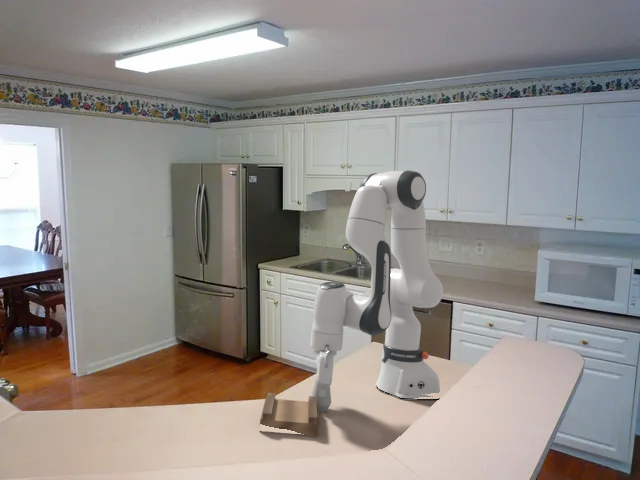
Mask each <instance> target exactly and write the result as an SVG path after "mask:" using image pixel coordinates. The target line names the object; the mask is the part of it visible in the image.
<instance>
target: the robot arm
mask: <svg viewBox="0 0 640 480" xmlns="http://www.w3.org/2000/svg"><path fill="white" fill-rule="evenodd" d="M426 192H427V183H426V181H425V178H424V177H423V175H422V174H421V173H419V172H418V171H414V170H405V171H404V170H390V171H389V170H388V171H384V172H379V173H377V172H376V173H375V172H374V173H370V174H367V175H366V176H365V177H364V178H362V180H361V182H360V185H359V188H358V189H357V190H356V193H355V195H354V197H353V199H352V202H351V205H350V209H349V212H348V216H347V220H346V221H347V222H346V226H345V238H346V241H347V243H348V244H349V245H350V247H351V248H352V249H353V250H355V251H356V252H357V253H359V254H360V255H362V256H363V257H365V259H367V261H368V262H369V265H370V268H371V276H370V278H371V279H370V280H371V281H370V295H369V297H368V296H364V295H359V294H356V293H353V292H352V291H350V290H349V289H348V288H347V287H346V285H345V284H344V283H343V282H340V281H326V282H323V283H320V284H319V285H318V288H317V290H316V293H315V297H314V303H313V311H312V312H313V313H312V314H313V315H312V316H313V323H312V325H311V333H310V340H309V341H310V342H309V346H310V347H311V348H312V349H313V353H314V354H315V362H316V365H317V364H318V367H317V370H316V377H317V381H318V384H319V396H320V397H325V396H326V389H327V386H330V387H331V385H332V382H333V374H334V357H335V356H337V355H338V351H341V350H342V349H343V343H344V342H343V340H344V339H343V338H344V331H345V330H344V327H346V328H349V329H353V330H356V331H360V332H362V333H365V334H367V335H370V336H372V337H376V336H378V335H380V334H382V333H383V332H385V335H384V337H385V339H384V343H383V346H382V349H381V366H380V370H379V371H380V372H379V374H378V377H377V381H376V383H375V386H376V385H377V387H378V388H379V389H381V390H383V391H385V392H388V393H391V394H394V395H396V396H398V397H400V398H419V397H431V396H428V395H425V394H431V393H439V392H440V387H441V385H440V384H441V383H440V378H439V376H438V374H437V373H436V371H435V370H434V369H433V368H432V367H431V366H430V365H429V364H428V363H427V362H426V361H425V360H428V359H429V356H430V355H429V354H428V352H427V351H424V350H423V349H421V348H420V339H421V331H422V325H421V321H419V319H418V318H417V316H416V315H415V312H414V309H413V307H415V308H420V309H423V308H424V309H430V308H431V309H433V308H434V307H436V306H437V305H439V304H440V302H441V301H442V299H443V298H442V297H443V294H444V287H443V283H442V282H441V281H440V279H438V277H437V276H436V274H435V273H434V271H433V270H432V268H431V265H430V262H429V259H428V255H427V242H426V241H427V233H426V231H427V230H426V227H427V225H426V224H427V223H426V221H427V220H426V211H425V210H426V209H425V203H424V199H425V196H426ZM389 208H390V209H391V218H390V219H391V220H390V245H389V244H388V242H386V237H385V228H386V221H387V213H388V212H387V211H388V210H387V209H389ZM392 255H393V256H394V258H395V259H396V260H397V262H398V264H399V267H400V268H396V267H395V268H394V267H393V268H392ZM325 367H326V368H325ZM379 389H378V390H379ZM385 392H384V393H385ZM391 394H390V395H391ZM422 394H423V395H422ZM394 395H393V396H394ZM396 396H395V397H396ZM398 397H397V398H398ZM432 397H433V396H432ZM400 398H399V399H400Z"/></svg>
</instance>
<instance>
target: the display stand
mask: <svg viewBox="0 0 640 480" xmlns="http://www.w3.org/2000/svg"><path fill="white" fill-rule="evenodd" d="M319 421H320V420H319V412H318V403H317V401H316V397H312V396H310V395H309V396H308V401H305V400H304V401H302V400H293V399H281V398H280V399H279V398H276V393H275V392H267V396H266V398H265V400H264V404H263V408H262V411H261V415H260V420H259V425H260V424H262V425H265V426H269V427H274V428H279V429H287V430H291V431H295V432H297V433H301V434H304V435H308V436H307V437H316V438H317V437H319V424H320V422H319ZM304 435H303V436H304Z"/></svg>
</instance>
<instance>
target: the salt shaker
mask: <svg viewBox="0 0 640 480" xmlns="http://www.w3.org/2000/svg"><path fill="white" fill-rule="evenodd" d="M315 367H316V368H315V370H316V371H317V367H318V364H316V366H315ZM325 368H326V367H325ZM314 382H315V383H314V384H313V389H312V392H311V396H312V397H316V401H317V403H318V413H320V414H321V413H325V412H328V411H329V408H330V407H331V404H332V396H331V385H330V386H327V389H326V396H325V397H320V396H319V384H318V381H317V376H316V378H315V381H314Z"/></svg>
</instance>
